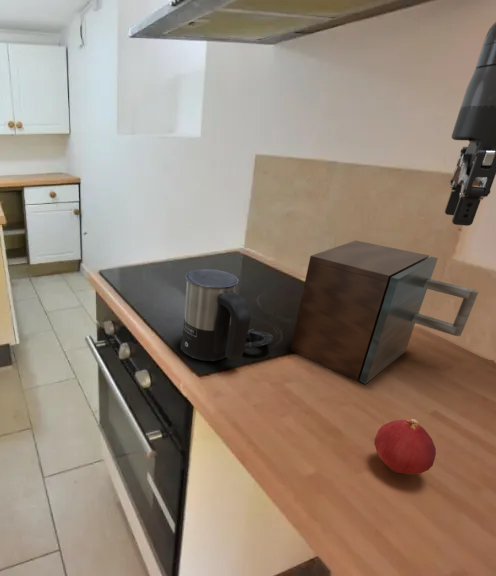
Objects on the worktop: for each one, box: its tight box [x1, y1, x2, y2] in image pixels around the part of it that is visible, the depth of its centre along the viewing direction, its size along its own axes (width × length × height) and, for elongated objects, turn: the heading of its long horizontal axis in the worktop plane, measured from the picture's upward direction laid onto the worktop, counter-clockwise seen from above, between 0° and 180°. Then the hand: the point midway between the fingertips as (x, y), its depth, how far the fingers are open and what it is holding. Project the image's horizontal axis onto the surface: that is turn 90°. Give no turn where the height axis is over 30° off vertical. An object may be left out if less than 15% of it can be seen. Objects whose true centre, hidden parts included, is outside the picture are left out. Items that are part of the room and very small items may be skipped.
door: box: [358, 256, 479, 385], centre depth 62 cm, size 8×17×19 cm, turn 126°
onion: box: [373, 418, 437, 475], centre depth 45 cm, size 6×6×8 cm
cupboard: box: [290, 240, 430, 382], centre depth 69 cm, size 12×17×19 cm
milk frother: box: [179, 268, 274, 362], centre depth 71 cm, size 14×16×15 cm
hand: (456, 219), depth 59 cm, fingers open, 8 cm apart
